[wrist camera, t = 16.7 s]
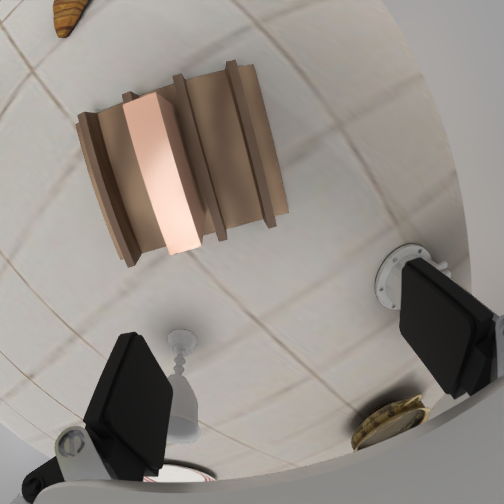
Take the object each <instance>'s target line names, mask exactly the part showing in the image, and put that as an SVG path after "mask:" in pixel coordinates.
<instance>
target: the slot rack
mask: <svg viewBox="0 0 504 504" xmlns="http://www.w3.org/2000/svg"><path fill="white" fill-rule="evenodd" d="M173 80H174V84H172V85H169V86H166V87H163V88H160V89H157V90H154V91H151V92H149V93H146V94H143V95H140V96H138V95H136V94H134V93H132V92H127V93H125V94H122V97H123V101H124V102H123V103H120V104H118V105H116V106H113V107H111V108H109V109H106V110H104V111H102V112H100V113H98V114H97V113H90V112H83V113H81V114H79V115H78V119H79V123H77V124H76V128H77V132H78V136H79V140H80V144H81V148H82V151H83V155H84V158H85V162H86V165H87V169H88V172H89V175H90V178H91V182H92V185H93V188H94V191H95V194H96V197H97V200H98V203H99V206H100V208H101V211H102V214H103V217H104V219H105V222H106V225H107V227H108V230H109V233H110V235H111V238H112V240H113V243H114V245H115V248H116V250H117V252H118V255H119V257H120V260H122V259H125V262H126V264H127V266H128V268H129V267H132V266H135V265H136V263H137V261H138V259H139V258H140V256H141V254H142V253H145V252H148V251H151V250H155V249H158V248H161V247H165V246H166V243H165V240H164V238H163V235H162V232H161V230H160V227H159V224H158V221H157V218H156V215H155V212H154V210H153V207H152V204H151V201H150V198H149V195H148V192H147V189H146V185H145V182H144V179H143V176H142V173H141V170H140V166H139V163H138V160H137V156H136V153H135V150H134V146H133V143H132V139H131V136H130V132H129V128H128V125H127V121H126V117H125V113H124V109H123V104H125V103H128V102H130V101H133V100H135V99H138V98H141V97H143V96H146V95H149V94H151V93H154V92H156V93H158V94H159V95H160V96H162V97H163V98H165V99H166V100H167V101H169V102H170V103H171V104H172V105H174V106H175V107H176V109H177V113H178V116H179V120H180V124H181V127H182V131H183V134H184V138H185V142H186V145H187V149H188V152H189V156H190V159H191V163H192V166H193V170H194V173H195V176H196V180H197V183H198V187H199V190H200V193H201V197H202V200H203V203H204V207H205V210H206V217H205V224H204V231H203V235H207V234H210V233H214V232H216V234H217V237H218V240H219V242H220V241H224V240H227V233H226V229H228V228H232V227H236V226H239V225H243V224H247V223H250V222H254V221H258V220H262V219H264V221H265V223H266V225H267V227H268V228H272V227H276V226H277V225H276V221H275V216H277V215H281V214H285V213H289V210H288V205H287V201H286V196H285V191H284V187H283V182H282V178H281V173H280V169H279V164H278V160H277V156H276V151H275V147H274V143H273V139H272V135H271V131H270V126H269V122H268V118H267V114H266V110H265V107H264V103H263V99H262V95H261V91H260V87H259V84H258V80H257V76H256V73H255V69H254V65H253V64H252V65H247V66H242V67H237V64H236V60H232V61H227V62H226V68H225V70H223V71H219V72H215V73H211V74H207V75H203V76H199V77H195V78H192V79H188V80H185V79H184V77H183V75H182V74H178V75H175V76H173ZM176 254H177V253H176ZM173 255H174V254H173Z"/></svg>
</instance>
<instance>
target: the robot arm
mask: <svg viewBox="0 0 504 504" xmlns="http://www.w3.org/2000/svg"><path fill="white" fill-rule="evenodd" d="M447 266H448V265H447V262H446V261H443V262H440V263H439V264H436V263H435V262H433V261H432V258H431V256H430V254H429V252H428V251H427V250H426V249H425V248H423V247H422V246H419V245H416V244H408V245H405V246H402V247H400V248H398V249H397V250H395V251H394V252H393V253H391V254H390V256H389V257H388V258H387V259H386V260H385V261H384V263H383V264H382V266H381V268H380V270H379V272H378V275H377V278H376V283H375V291H376V296H377V298H378V300H379V301H380V302H381V304H382V305H383V306H384V307H386V308H388V309H392V310H396V309H399V310H400V324H399V328H400V332H401V334H402V336H403V337H404V338H405V340H406V341H407V342H408V343H409V345H410V346H411V347H412V349H413V350H414V351H415V353H416V354H417V355H418V357H419V358H420V359H421V361H422V362H423V363H424V365H425V366H426V367H427V369H428V370H429V371H430V373H431V374H432V375H433V377H434V378H435V379H436V381H437V382H438V384H439V385H440V386H441V388H442V389H443V391H444V392H445V393H446V394H445V395H444V396H443V397H442V398H441V399H440V400H439V401H438V402H437V403H436V404H435V405H434V407H433V408H432V409H431V411H430V413H429V415H428V419H427V421H426V422H424V423H422V424H420V425H418V426H416V427H414V428H412V429H410V430H408V431H406V432H403V433H401V434H399V435H397V436H394V437H392V438H390V439H387V440H385V441H382V442H380V443H377V444H375V445H372V446H370V447H367V448H364V449H361V450H359V451H356V452H353V453H350V454H347V455H344V456H341V457H337V458H334V459H331V460H327V461H324V462H320V463H316V464H313V465H309V466H305V467H300V468H296V469H292V470H287V471H282V472H277V473H271V474H266V475H259V476H253V477H246V478H238V479H229V480H218V481H204V482H143V479H144V476H147V477H158V475H159V469H162V468H163V464H164V456H165V448H166V440H167V433H168V426H169V419H170V412H171V406H172V399H173V388H172V385H171V384H170V382H169V380H168V379H167V377H166V376H165V374H164V372H163V371H162V369H161V367H160V366H159V364H158V362H157V361H156V359H155V357H154V355H153V354H152V352H151V350H150V348H149V347H148V345H147V343H146V341H145V340H144V338H143V336H142V335H138V334H137V333H136V332H130V333H125V334H121V335H120V336H119V337H118V339H117V341H116V344H115V346H114V348H113V350H112V352H111V354H110V357H109V359H108V361H107V363H106V366H105V368H104V370H103V372H102V375H101V377H100V379H99V382H98V384H97V386H96V389H95V391H94V394H93V396H92V399H91V401H90V404H89V406H88V409H87V411H86V414H85V416H84V419H83V422H84V423H85V424H86V426H85V429H84V428H82V427H80V426H73V427H69V428H67V429H65V430H64V431H63V432H62V433H61V434H60V435H59V436H58V438H57V440H56V442H55V453H56V456H55V457H53V458H52V459H51V460H49V461H48V462H46V463H44V464H43V465H41V466H40V467H38V468H37V469H35V470H34V471H32V472H31V473H29V474H28V475H27V476H26V477H25V479H24V480H23V484H22V495H21V494H18V496H17V497H16V498H15V499H14V500H13V501H12V503H11V504H504V315H502V316H501V317H500V316H498V315H497V314H496V313H494V312H493V311H492V310H490V309H489V308H488V307H486V306H485V305H484V304H483V303H481V302H480V301H479V300H478V299H477V298H475V297H474V296H473V295H472V294H470V293H469V292H468V291H467V290H465V289H464V288H463V287H461V286H460V285H459V284H458V283H456V282H455V281H454V280H452V279H451V272H450V271H449V270H448V269H447V270H445V271H443V272H442V271H440V270H443V269H445V268H447Z"/></svg>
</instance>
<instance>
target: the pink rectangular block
mask: <svg viewBox="0 0 504 504" xmlns="http://www.w3.org/2000/svg"><path fill="white" fill-rule="evenodd" d="M123 109H124V113H125V117H126V121H127V125H128V128H129V132H130V136H131V139H132V143H133V146H134V150H135V153H136V156H137V160H138V163H139V166H140V170H141V173H142V176H143V179H144V182H145V185H146V189H147V192H148V195H149V198H150V201H151V204H152V207H153V210H154V212H155V215H156V218H157V221H158V224H159V227H160V230H161V232H162V235H163V238H164V240H165V243H166V246H167V249H168V251H169V254H170V255H173V254H176V253H180V252H183V251H187V250H190V249H194V248H197V247H201V246H202V239H203V231H204V224H205V217H206V210H205V207H204V203H203V200H202V197H201V193H200V190H199V187H198V183H197V180H196V176H195V173H194V170H193V166H192V163H191V159H190V156H189V152H188V149H187V145H186V142H185V138H184V134H183V131H182V127H181V124H180V120H179V116H178V113H177V109H176V107H175V106H174V105H172V104H171V103H170V102H169V101H167V100H166V99H165V98H163V97H162V96H160V95H159V94H158V93H156V92H154V93H151V94H149V95H146V96H143V97H141V98H138V99H135V100H133V101H130V102H128V103H125V104H123Z"/></svg>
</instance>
